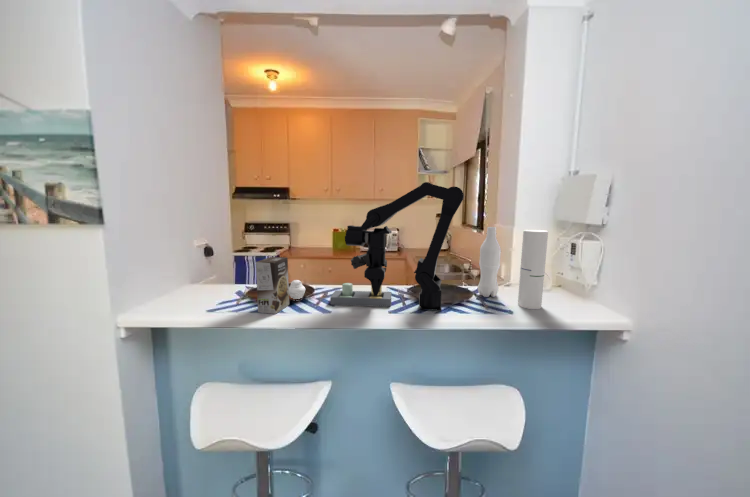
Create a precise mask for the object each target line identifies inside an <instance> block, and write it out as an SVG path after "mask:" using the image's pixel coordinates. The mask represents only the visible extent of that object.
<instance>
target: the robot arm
mask: <svg viewBox="0 0 750 497" xmlns="http://www.w3.org/2000/svg"><path fill="white" fill-rule="evenodd" d="M428 196H430V197H432V198H436V199H440V200H442V204H441V212H440V216H439V219H438V222H437V224H436V228H435V230H434V233H433V236H432V238H431V242H430V245H429V247H428V250H427V253H426V255H425V257H424V258H422V257H420V258H419V259H418V260H417V265H416V268H415V270H414V271H413V273H414V274H415V276H414V280H415V282H416V283H417V284H418V285H419V286H420V291H419V292H418V305H419V306H418V307H420V310H422V311H442V310H443V309H442V289H441V284H442V279H441V278H440V277H439V276H438V275H437V274H436V273H437V272H436V271H437V265H438V260H439V255H440V252H441V250H442V248H443V244H444V242H445V240H446V236H447V234H448V231H449V228H450V225H451V223H452V220H453V218H454V216H455V214H456V213H457V211H458V210H459V207H460V206H461V204H462V202H463V201H464V197H465V194H464V192H463V190H462V188H460V187H458V186H450V187H444V186H440V185H436V184H432V183H431V182H430V181H425V182H423V183H421V184H420V185H419V186H416V187H415V188H414V189H412V190H409V192H407V193H405V194H403V195H402V196H400V197H398V198H396V199H395V200H392V201H391V202H389V203H387V204H383V205H381V206H378V207H375V208H372V209H370V210H369V211H367V214H366V216H365V217H366V218H365V220H364V222H363V223H362V224H361V226H359V225H347V229H346V230H345V231H346V232H345V236H344V243H345V245H346V246H355V247H364V246H365V244H368V245H367V251H366V253H364V254H360V255H358V254H357V255H356V256H353V257H352V258H351V259H350V262H351V263H350V264H351V266H352V267H353V269H354V270H355V269H356V270H357V269H358V268H360V267H363V266H366V268H365V269H364V273H363V274H364V278H366V279H367V280H368V281H369V282H370V286H371V285H372V290H373V294H374V296H377V295H378V292H379V290H380V287H381V285H382V286H383V282H384V280H385V277H386V271H387V267H388V260H387V259H386V250H387V249H386V235H390V234H391V233H392V230H391V229H390V228H389V227H388V226H387V225H386V223H387V222H388V221H390V220H391V219H392V218H393V217H394V216H395V215H397V213H400V212H401V211H402V210H405V209H407V208H408V207H410V206H411V205H413V204H415V203H417V202H418V201H421V200H422V199H424V198H426V197H428ZM384 224H385V225H386V226H384V227H383V228H382V227H381V226H383V225H384ZM380 227H381V228H380ZM369 229H373V230H369Z"/></svg>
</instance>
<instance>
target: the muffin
mask: <svg viewBox="0 0 750 497" xmlns="http://www.w3.org/2000/svg"><path fill="white" fill-rule="evenodd" d="M305 292H306V287H305V286H304V285H303V283H302V281H301V280H299V279H293V280H292V281H291V283H290V285H289V298H293V299H300V298H302V299H303V297H304V295H305Z"/></svg>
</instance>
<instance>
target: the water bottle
mask: <svg viewBox="0 0 750 497" xmlns="http://www.w3.org/2000/svg"><path fill="white" fill-rule="evenodd" d="M486 228H487V230H486V236H485V239H484V240H483V242H482V244H481V245H480V248H479V263H478V265H479V268H480V280H479V283H478V285H477V292H478V294H479V295H480V296H483V297H484V298H489V297H490V296H491V298H495V297H496V296H497V295H498V292H499V285H498V272H499V270H500V267H501V252H502V248H501V245H500V243H499V241H498V238H497V227H496V226H487V227H486Z"/></svg>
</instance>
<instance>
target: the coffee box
mask: <svg viewBox="0 0 750 497" xmlns="http://www.w3.org/2000/svg"><path fill="white" fill-rule="evenodd" d="M288 259H289V258H288V257H287V256H286V257H284V256H281V257H280V256H275V257H274V256H269V257H266V258H263V259H261V260H257V261H255V271H256V272H255V274H256V278H255V279H256V293H257V294H256V296H257V312H258V313H260V314H271V315H277V314H278V313H280V312H281V311H282V310H284V309H285V308H287V307H288V306H289V305H290V295H289V286H290V285H289V265H288V262H289V260H288Z"/></svg>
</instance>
